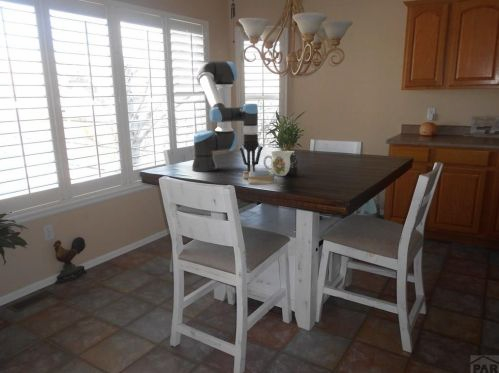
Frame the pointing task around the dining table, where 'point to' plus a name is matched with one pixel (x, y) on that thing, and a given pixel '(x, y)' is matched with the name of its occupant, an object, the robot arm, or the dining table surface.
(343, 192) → the dining table surface
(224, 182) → the dining table surface
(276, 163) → the pitcher
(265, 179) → the dock
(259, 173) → the keeper
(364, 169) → the dining table surface
